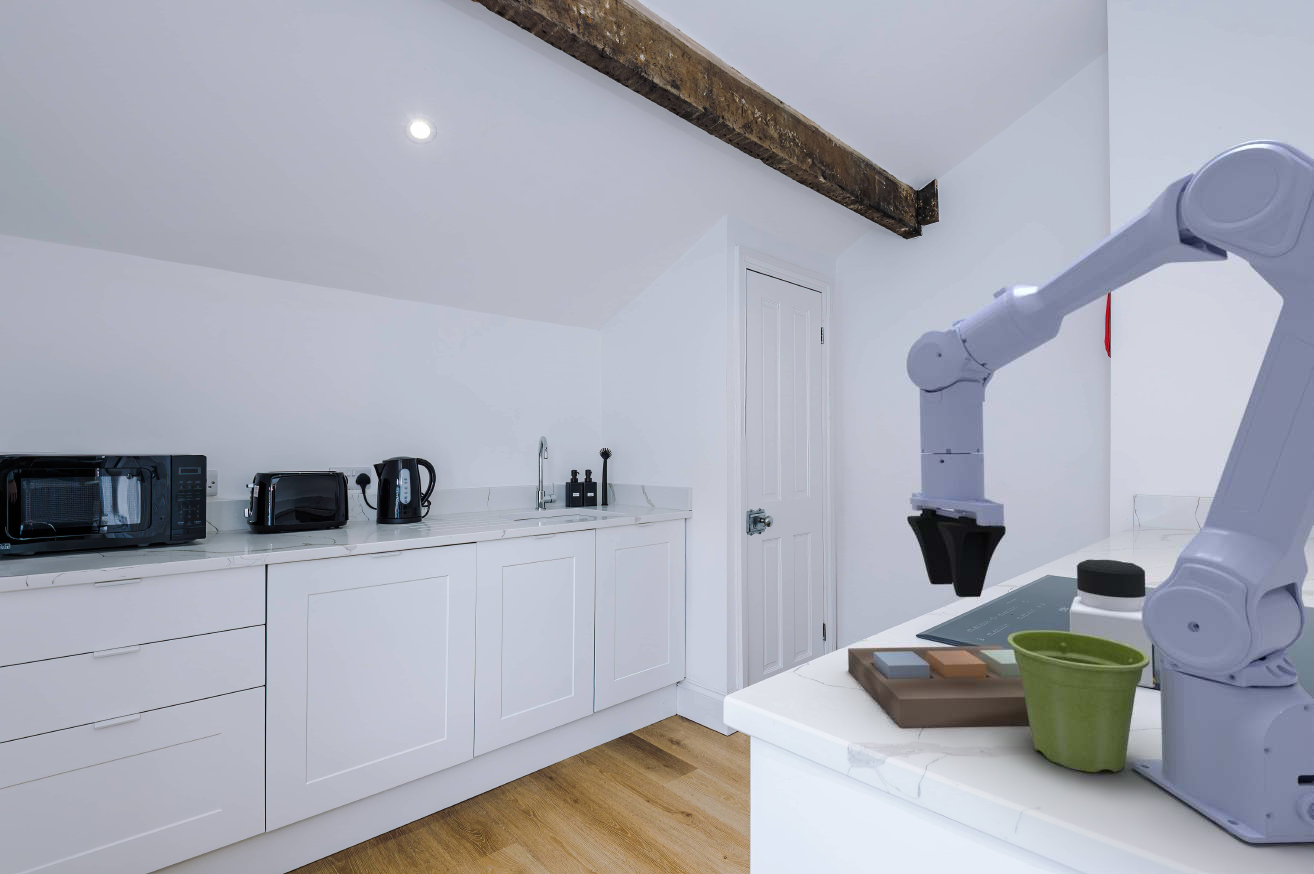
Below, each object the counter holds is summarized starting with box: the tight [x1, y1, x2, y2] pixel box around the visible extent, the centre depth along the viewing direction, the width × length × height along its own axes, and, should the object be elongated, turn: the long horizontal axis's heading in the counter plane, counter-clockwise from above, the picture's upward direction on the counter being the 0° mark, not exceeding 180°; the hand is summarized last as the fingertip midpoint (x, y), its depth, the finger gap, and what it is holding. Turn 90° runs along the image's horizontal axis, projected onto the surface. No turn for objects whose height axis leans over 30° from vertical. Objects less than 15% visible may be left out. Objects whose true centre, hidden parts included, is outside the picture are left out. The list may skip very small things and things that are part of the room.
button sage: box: [979, 649, 1021, 677], centre depth 62 cm, size 4×4×2 cm
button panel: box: [847, 645, 1030, 729], centre depth 62 cm, size 14×17×2 cm
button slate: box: [874, 651, 930, 679], centre depth 62 cm, size 4×4×2 cm
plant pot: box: [1007, 629, 1150, 773], centre depth 50 cm, size 9×9×9 cm
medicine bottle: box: [1069, 558, 1156, 689], centre depth 68 cm, size 7×7×12 cm
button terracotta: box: [927, 651, 987, 678], centre depth 62 cm, size 4×4×2 cm
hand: (954, 589), depth 62 cm, fingers open, 5 cm apart
